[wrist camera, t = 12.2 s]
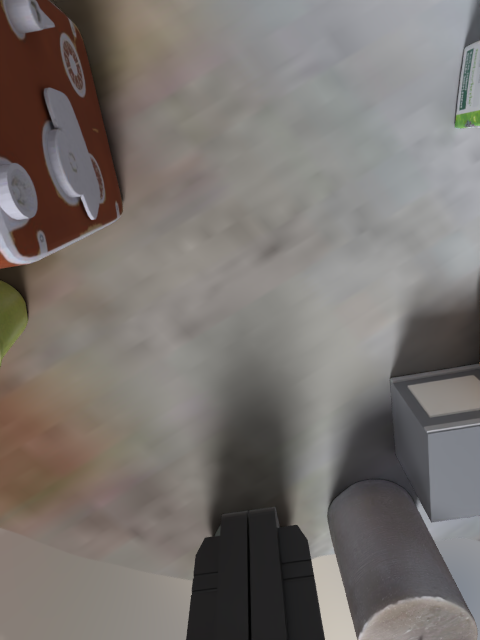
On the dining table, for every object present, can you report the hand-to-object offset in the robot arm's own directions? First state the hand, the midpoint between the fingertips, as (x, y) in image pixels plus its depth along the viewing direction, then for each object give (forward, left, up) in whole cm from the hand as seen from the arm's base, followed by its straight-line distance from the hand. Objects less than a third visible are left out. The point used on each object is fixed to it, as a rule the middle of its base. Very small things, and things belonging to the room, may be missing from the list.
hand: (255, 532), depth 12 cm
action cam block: (-6, +26, -28) cm, 39 cm away
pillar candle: (+10, +29, -28) cm, 42 cm away
